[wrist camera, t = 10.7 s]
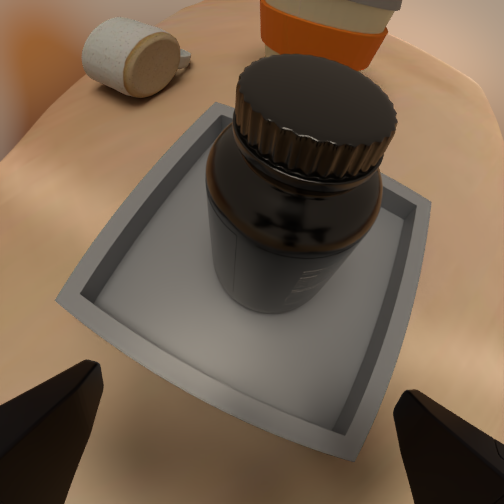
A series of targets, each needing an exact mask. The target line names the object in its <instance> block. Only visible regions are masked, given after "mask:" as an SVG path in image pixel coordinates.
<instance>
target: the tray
mask: <svg viewBox="0 0 504 504" xmlns="http://www.w3.org/2000/svg"><path fill="white" fill-rule="evenodd" d="M234 109H235V108H233V107H230V106H227V105H224V104H221V103H218V102H215V103H214V104H213V105H212V106H211V107H210V108H209V109H208V110H207V111H206V112H205V113H204V114H203V115H202V116H201V117H200V118H199V119H198V120H197V121H196V122H195V123H194V124H193V125H192V126H191V127H190V128H189V129H188V130H187V131H186V132H185V133H184V134H183V135H182V136H181V137H180V138H179V139H178V140H177V141H176V142H175V143H174V144H173V145H172V146H171V147H170V149H169V150H168V151H167V152H166V153H165V154H164V155H163V156H162V157H161V158H160V160H159V161H158V162H157V163H156V164H155V165H154V166H153V167H152V169H151V170H150V171H149V172H148V173H147V174H146V176H145V177H144V178H143V179H142V180H141V181H140V183H139V184H138V185H137V186H136V187H135V189H134V190H133V191H132V192H131V193H130V195H129V196H128V197H127V198H126V200H125V201H124V202H123V203H122V205H121V206H120V207H119V208H118V210H117V211H116V212H115V214H114V215H113V216H112V217H111V219H110V220H109V221H108V223H107V224H106V225H105V227H104V228H103V229H102V231H101V232H100V233H99V235H98V236H97V238H96V239H95V240H94V242H93V243H92V244H91V246H90V247H89V249H88V250H87V252H86V253H85V254H84V256H83V257H82V259H81V260H80V262H79V263H78V265H77V266H76V268H75V269H74V271H73V272H72V274H71V275H70V277H69V278H68V280H67V282H66V283H65V285H64V286H63V288H62V289H61V291H60V293H59V294H58V296H57V298H56V299H55V301H56V302H57V303H58V304H59V305H61V306H62V307H63V308H64V309H65V310H67V311H68V312H69V313H70V314H72V315H73V316H74V317H75V318H77V319H78V320H79V321H80V322H82V323H83V324H84V325H86V326H87V327H88V328H90V329H91V330H92V331H94V332H95V333H96V334H98V335H99V336H100V337H102V338H103V339H104V340H106V341H107V342H109V343H110V344H111V345H113V346H114V347H116V348H117V349H118V350H120V351H121V352H123V353H124V354H126V355H127V356H129V357H130V358H132V359H133V360H135V361H136V362H138V363H139V364H141V365H143V366H144V367H146V368H147V369H149V370H150V371H152V372H154V373H155V374H157V375H158V376H160V377H162V378H163V379H165V380H167V381H168V382H170V383H172V384H174V385H175V386H177V387H179V388H181V389H182V390H184V391H186V392H188V393H189V394H191V395H193V396H195V397H197V398H199V399H200V400H202V401H204V402H206V403H208V404H210V405H212V406H214V407H216V408H218V409H220V410H222V411H224V412H226V413H228V414H230V415H232V416H234V417H236V418H238V419H240V420H243V421H245V422H247V423H249V424H251V425H254V426H256V427H258V428H260V429H263V430H265V431H267V432H270V433H272V434H275V435H277V436H280V437H282V438H285V439H287V440H290V441H292V442H295V443H298V444H300V445H303V446H306V447H308V448H311V449H314V450H317V451H320V452H323V453H326V454H329V455H332V456H335V457H338V458H342V459H345V460H348V461H352V462H355V460H356V458H357V456H358V454H359V452H360V450H361V448H362V446H363V444H364V442H365V440H366V437H367V435H368V433H369V431H370V429H371V426H372V424H373V422H374V419H375V417H376V415H377V412H378V410H379V408H380V405H381V403H382V400H383V398H384V395H385V392H386V390H387V387H388V384H389V382H390V379H391V376H392V373H393V371H394V368H395V365H396V362H397V359H398V356H399V353H400V349H401V346H402V343H403V340H404V336H405V333H406V329H407V326H408V322H409V319H410V315H411V311H412V307H413V303H414V299H415V295H416V290H417V286H418V282H419V277H420V272H421V267H422V262H423V256H424V251H425V245H426V239H427V232H428V226H429V218H430V210H431V201H429V200H428V199H426V198H424V197H423V196H421V195H419V194H418V193H416V192H414V191H413V190H411V189H409V188H408V187H406V186H404V185H402V184H401V183H399V182H397V181H395V180H394V179H392V178H390V177H388V176H386V175H384V174H383V173H381V172H380V173H381V177H382V184H383V197H382V204H381V209H380V212H379V214H378V217H377V219H376V221H375V223H374V224H373V226H372V227H371V229H370V230H369V232H368V233H367V234H366V236H365V237H364V238H363V240H362V241H361V242H360V243H359V245H358V246H357V247H356V248H355V249H354V251H353V252H352V253H351V254H350V256H349V257H348V258H347V259H346V260H345V262H344V263H343V264H342V265H341V266H340V268H339V269H338V270H337V271H336V272H335V273H334V275H333V276H332V277H331V278H330V279H329V280H328V282H327V283H326V284H325V285H324V286H323V287H322V289H321V290H320V291H319V292H318V293H317V294H316V295H315V296H314V297H313V298H312V299H311V300H309V301H308V302H307V303H305V304H304V305H302V306H301V307H298V308H296V309H294V310H291V311H287V312H282V313H264V312H259V311H255V310H252V309H249V308H247V307H245V306H243V305H242V304H240V303H238V302H237V301H236V300H234V299H233V298H232V297H231V296H230V295H229V294H228V293H227V292H226V291H225V289H224V288H223V287H222V285H221V283H220V282H219V279H218V277H217V275H216V272H215V268H214V263H213V256H212V247H211V237H210V227H209V217H208V206H207V194H206V182H205V173H206V162H207V158H208V155H209V152H210V149H211V147H212V145H213V143H214V142H215V140H216V139H217V137H218V136H219V135H220V133H221V132H222V131H223V130H224V129H225V128H226V127H227V126H228V125H229V124H230V123H232V119H233V113H234Z"/></svg>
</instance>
